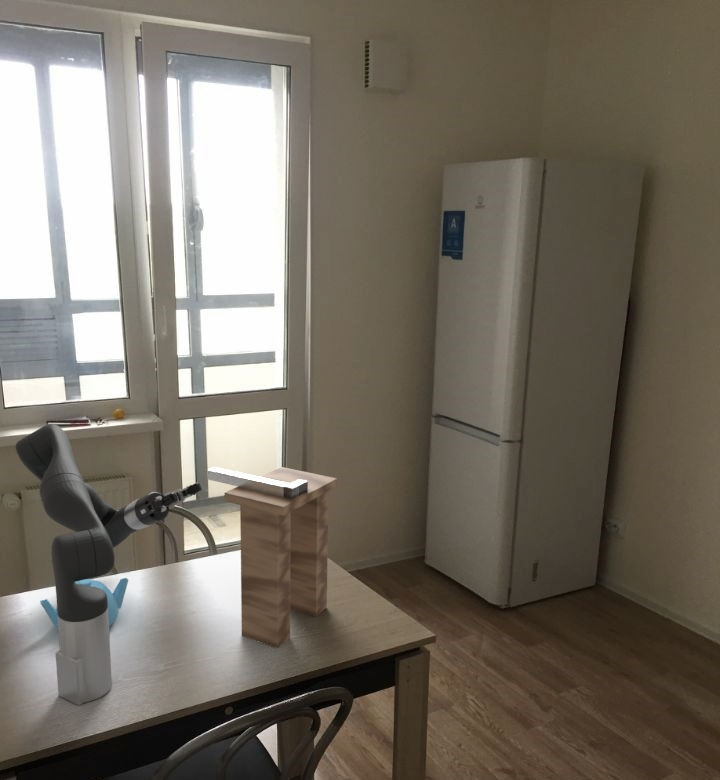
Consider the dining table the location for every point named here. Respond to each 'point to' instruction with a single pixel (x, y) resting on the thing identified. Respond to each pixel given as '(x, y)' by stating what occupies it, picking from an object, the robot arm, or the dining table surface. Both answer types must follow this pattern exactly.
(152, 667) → the dining table surface
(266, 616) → the shelf
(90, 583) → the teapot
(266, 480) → the crook tool
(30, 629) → the dining table surface
